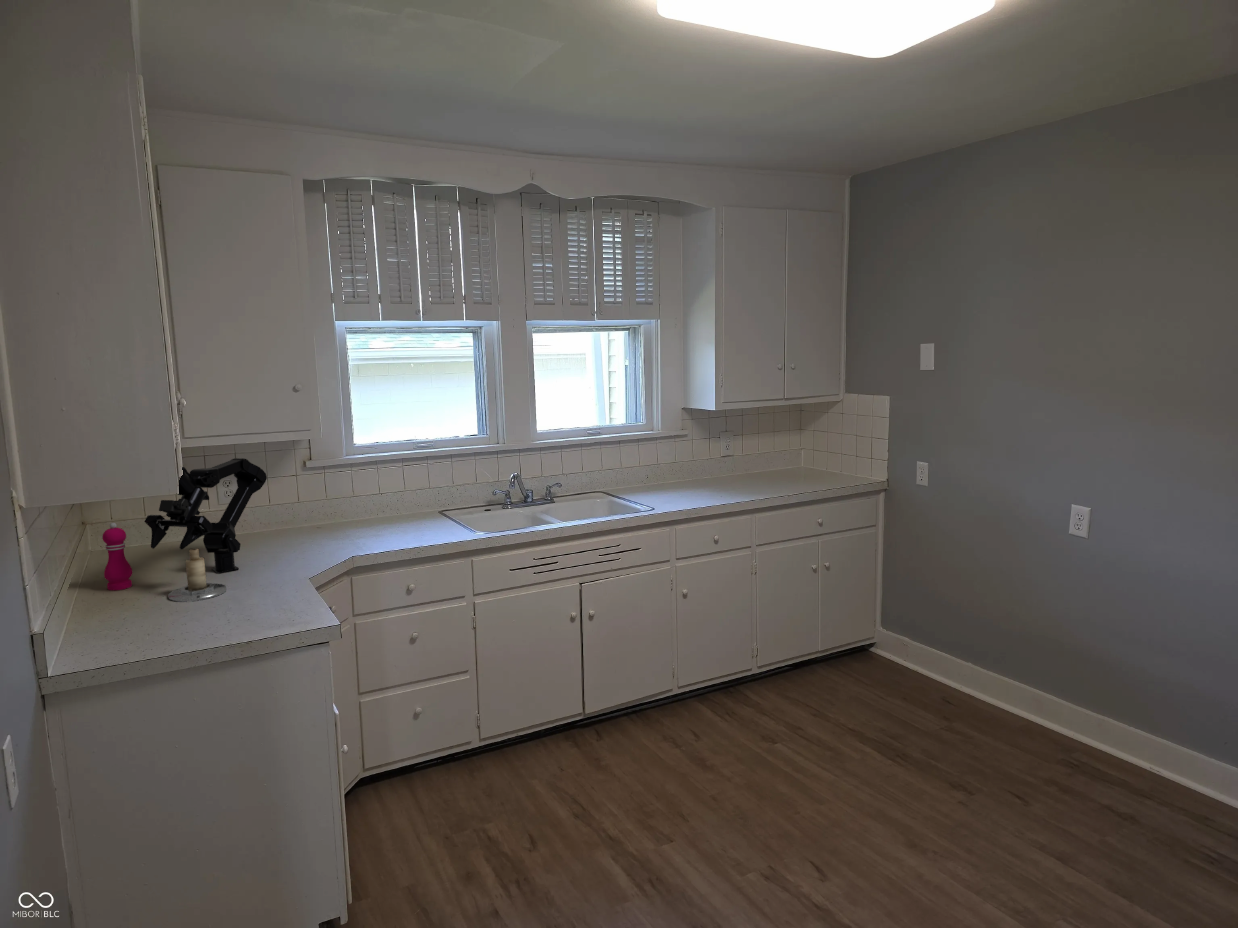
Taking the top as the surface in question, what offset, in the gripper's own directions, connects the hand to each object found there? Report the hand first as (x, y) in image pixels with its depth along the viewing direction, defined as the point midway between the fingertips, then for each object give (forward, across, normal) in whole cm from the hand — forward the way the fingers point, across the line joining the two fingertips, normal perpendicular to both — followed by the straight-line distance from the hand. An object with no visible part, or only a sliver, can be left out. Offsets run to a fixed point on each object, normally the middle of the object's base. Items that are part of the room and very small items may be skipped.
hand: (166, 548), depth 228 cm
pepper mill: (+7, -20, +13) cm, 25 cm away
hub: (+9, +8, +11) cm, 16 cm away
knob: (+8, +8, +10) cm, 15 cm away
